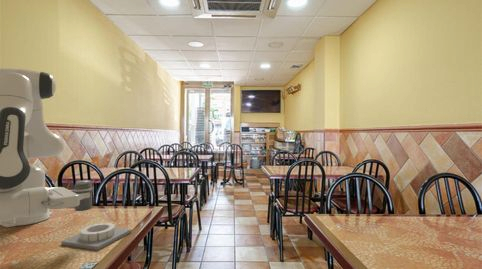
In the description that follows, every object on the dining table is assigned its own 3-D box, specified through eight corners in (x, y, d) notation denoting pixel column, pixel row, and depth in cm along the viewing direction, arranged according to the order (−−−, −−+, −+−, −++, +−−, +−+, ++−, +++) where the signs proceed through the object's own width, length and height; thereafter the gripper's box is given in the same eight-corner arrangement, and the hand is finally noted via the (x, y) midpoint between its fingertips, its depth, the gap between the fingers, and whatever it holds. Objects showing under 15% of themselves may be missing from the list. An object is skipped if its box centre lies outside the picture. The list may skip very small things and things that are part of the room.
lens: (70, 210, 92) (70, 182, 91) (84, 206, 97) (84, 179, 97) (82, 211, 90) (82, 183, 90) (95, 207, 95) (95, 180, 95)
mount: (61, 244, 90) (61, 234, 90) (98, 228, 105) (98, 219, 105) (97, 250, 85) (97, 239, 85) (131, 232, 101) (131, 222, 100)
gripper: (45, 196, 77) (96, 188, 87) (32, 186, 91) (77, 181, 101) (46, 217, 77) (96, 207, 87) (33, 204, 91) (77, 197, 101)
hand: (86, 193), depth 94 cm, fingers closed on lens, 5 cm apart
